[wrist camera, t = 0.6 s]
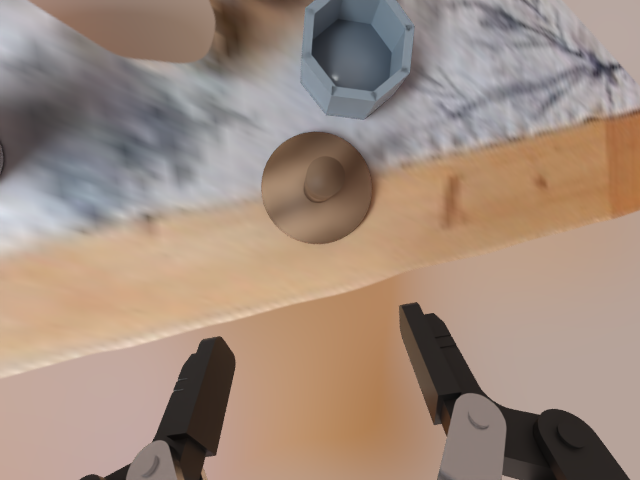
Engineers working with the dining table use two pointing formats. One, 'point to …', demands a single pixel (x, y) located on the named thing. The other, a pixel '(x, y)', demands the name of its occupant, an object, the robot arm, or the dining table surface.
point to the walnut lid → (316, 187)
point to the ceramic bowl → (355, 54)
